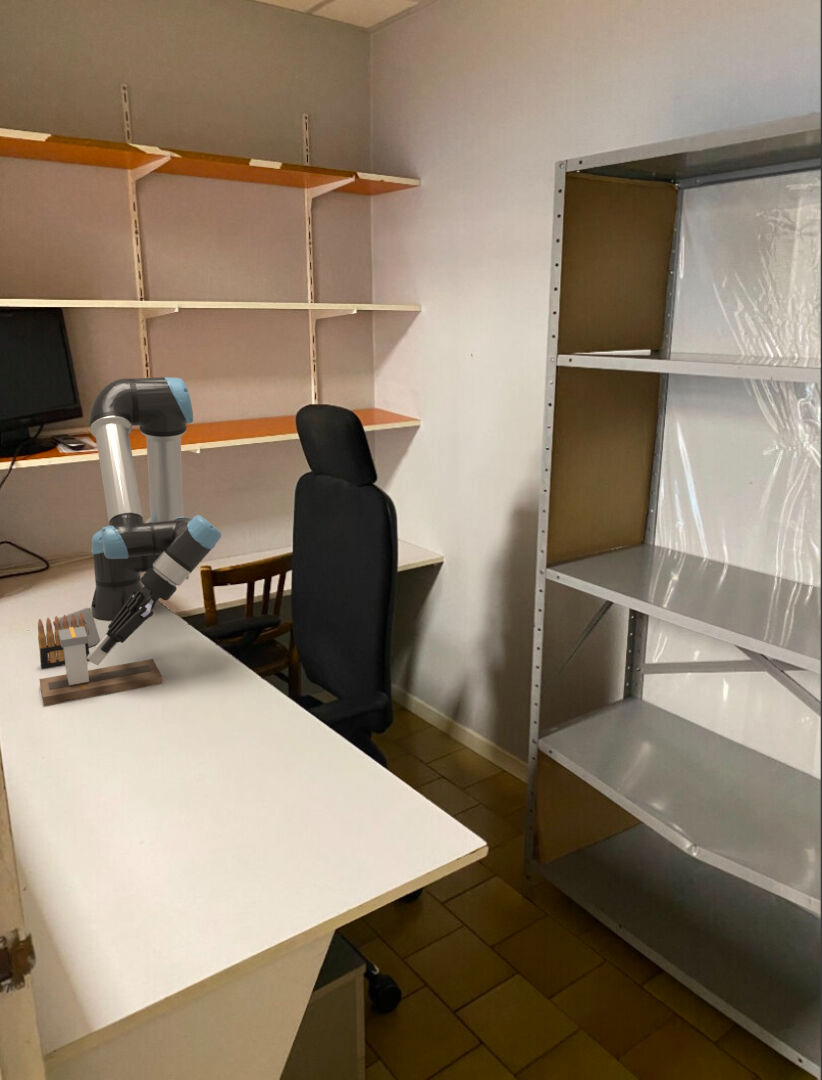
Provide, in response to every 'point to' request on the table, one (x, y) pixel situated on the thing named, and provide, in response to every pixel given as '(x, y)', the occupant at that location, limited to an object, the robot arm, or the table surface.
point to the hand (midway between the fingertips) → (92, 661)
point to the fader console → (101, 682)
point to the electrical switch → (89, 624)
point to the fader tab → (75, 654)
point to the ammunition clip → (55, 641)
